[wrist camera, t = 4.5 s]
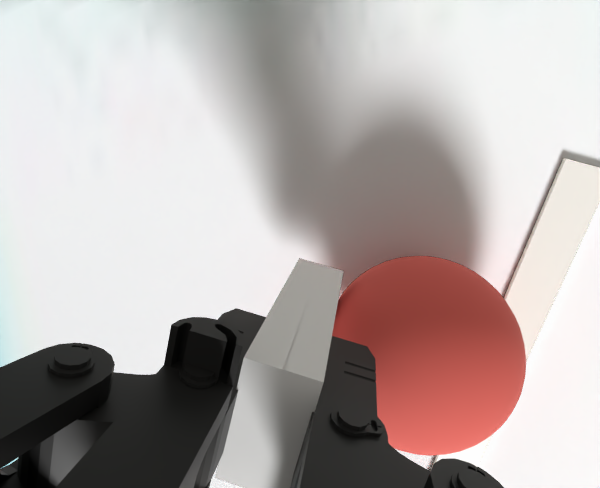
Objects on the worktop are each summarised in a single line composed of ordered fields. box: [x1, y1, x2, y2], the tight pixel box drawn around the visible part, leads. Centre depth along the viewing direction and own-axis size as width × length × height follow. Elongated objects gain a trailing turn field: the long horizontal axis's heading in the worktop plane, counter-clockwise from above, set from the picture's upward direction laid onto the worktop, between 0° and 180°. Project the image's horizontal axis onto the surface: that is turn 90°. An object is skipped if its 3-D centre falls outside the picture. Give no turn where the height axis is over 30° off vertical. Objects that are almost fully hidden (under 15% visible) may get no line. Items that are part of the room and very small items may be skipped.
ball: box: [332, 256, 526, 455], centre depth 14 cm, size 6×6×6 cm
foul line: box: [430, 158, 600, 471], centre depth 16 cm, size 2×14×1 cm, turn 165°
